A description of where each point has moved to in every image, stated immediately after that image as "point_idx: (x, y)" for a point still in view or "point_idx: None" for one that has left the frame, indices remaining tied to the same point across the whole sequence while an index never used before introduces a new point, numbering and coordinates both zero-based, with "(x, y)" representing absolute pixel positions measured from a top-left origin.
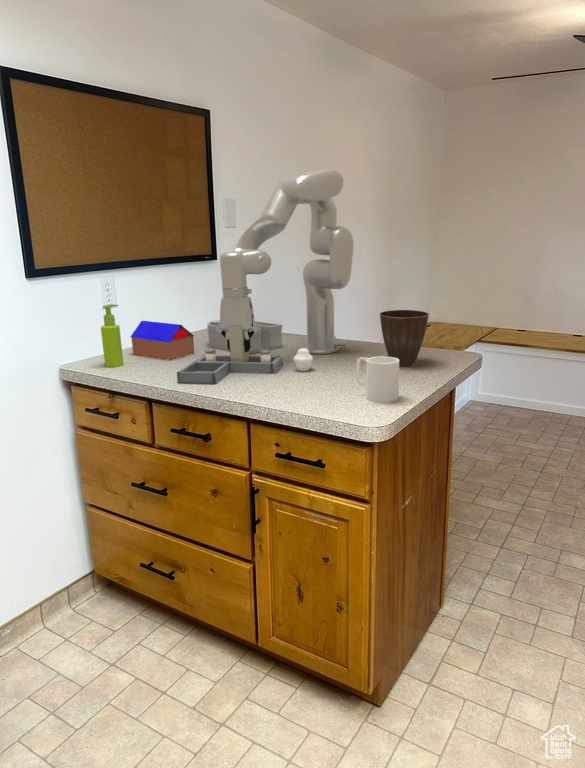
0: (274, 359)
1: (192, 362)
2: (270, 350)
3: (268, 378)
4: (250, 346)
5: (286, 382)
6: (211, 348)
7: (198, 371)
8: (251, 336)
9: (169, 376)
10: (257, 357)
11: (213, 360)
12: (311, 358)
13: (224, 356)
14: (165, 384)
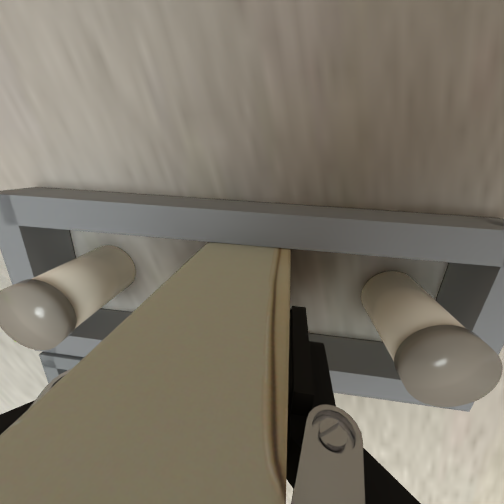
0: (476, 321)
1: (44, 368)
2: (498, 379)
3: (401, 425)
4: (324, 349)
5: (473, 471)
6: (15, 290)
7: None
8: (369, 466)
9: (35, 376)
10: (351, 253)
11: (105, 303)
12: None
13: (127, 234)
14: None
